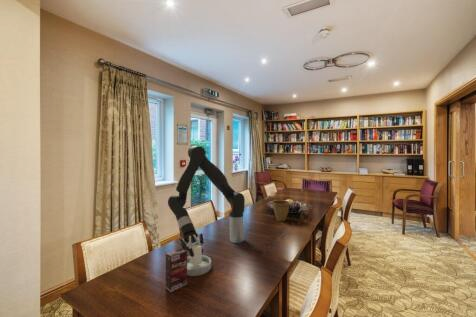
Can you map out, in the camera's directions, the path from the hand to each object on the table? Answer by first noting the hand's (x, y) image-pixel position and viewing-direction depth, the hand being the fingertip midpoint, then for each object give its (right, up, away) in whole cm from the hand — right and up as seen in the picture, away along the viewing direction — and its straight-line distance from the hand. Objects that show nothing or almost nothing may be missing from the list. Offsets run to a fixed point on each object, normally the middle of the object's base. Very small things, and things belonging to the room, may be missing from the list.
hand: (197, 254), depth 119 cm
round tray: (-1, -7, +2) cm, 8 cm away
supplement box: (-7, -8, -15) cm, 18 cm away
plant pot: (+59, -4, +82) cm, 101 cm away
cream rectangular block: (-1, -5, +2) cm, 6 cm away
